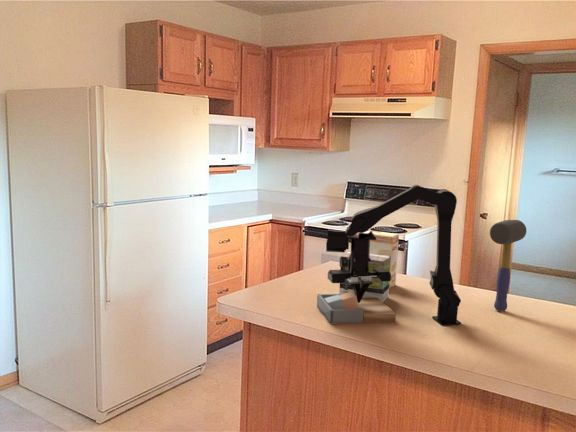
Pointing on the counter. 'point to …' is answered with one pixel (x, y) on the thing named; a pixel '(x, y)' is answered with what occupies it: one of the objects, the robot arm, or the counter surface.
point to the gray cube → (335, 302)
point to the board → (376, 311)
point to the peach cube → (349, 300)
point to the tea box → (378, 287)
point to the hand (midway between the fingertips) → (358, 302)
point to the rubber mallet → (505, 255)
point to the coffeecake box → (386, 250)
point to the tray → (338, 312)
